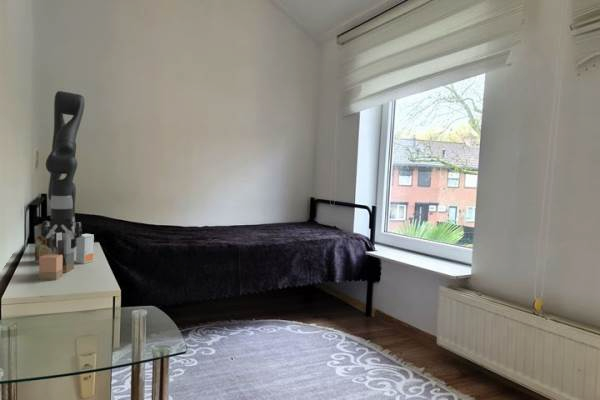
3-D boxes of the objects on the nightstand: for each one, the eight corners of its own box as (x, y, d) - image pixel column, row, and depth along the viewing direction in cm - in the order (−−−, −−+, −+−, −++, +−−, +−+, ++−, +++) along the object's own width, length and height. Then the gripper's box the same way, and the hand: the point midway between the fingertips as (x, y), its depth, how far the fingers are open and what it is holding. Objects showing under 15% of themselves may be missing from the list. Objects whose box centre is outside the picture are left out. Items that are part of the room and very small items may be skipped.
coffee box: (63, 260, 189) (63, 224, 188) (56, 264, 183) (57, 226, 181) (41, 260, 188) (41, 223, 187) (33, 263, 182) (33, 225, 180)
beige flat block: (61, 260, 174) (61, 239, 173) (68, 260, 174) (68, 239, 173) (46, 267, 162) (46, 245, 161) (54, 268, 162) (54, 245, 161)
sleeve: (62, 268, 177) (62, 252, 176) (73, 268, 177) (73, 252, 177) (54, 272, 170) (54, 256, 169) (66, 272, 170) (66, 256, 170)
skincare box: (84, 264, 185) (84, 236, 184) (75, 263, 186) (75, 235, 185) (94, 261, 191) (94, 234, 190) (85, 260, 192) (85, 233, 191)
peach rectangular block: (45, 276, 165) (45, 254, 164) (62, 276, 166) (62, 254, 165) (39, 279, 160) (39, 257, 159) (56, 280, 161) (56, 257, 160)
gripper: (37, 207, 165) (37, 249, 166) (76, 208, 166) (76, 250, 168) (47, 205, 172) (47, 245, 174) (84, 206, 174) (84, 246, 175)
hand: (61, 247), depth 171 cm, fingers open, 8 cm apart
